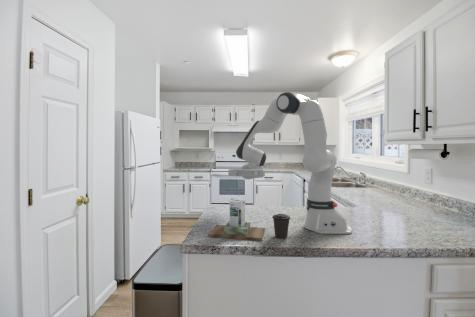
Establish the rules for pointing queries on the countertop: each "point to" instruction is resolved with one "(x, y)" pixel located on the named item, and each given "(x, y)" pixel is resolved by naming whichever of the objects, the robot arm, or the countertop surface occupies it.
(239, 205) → the syrup box
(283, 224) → the coffee cup
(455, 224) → the countertop surface
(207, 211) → the countertop surface
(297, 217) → the countertop surface
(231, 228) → the collar stand
